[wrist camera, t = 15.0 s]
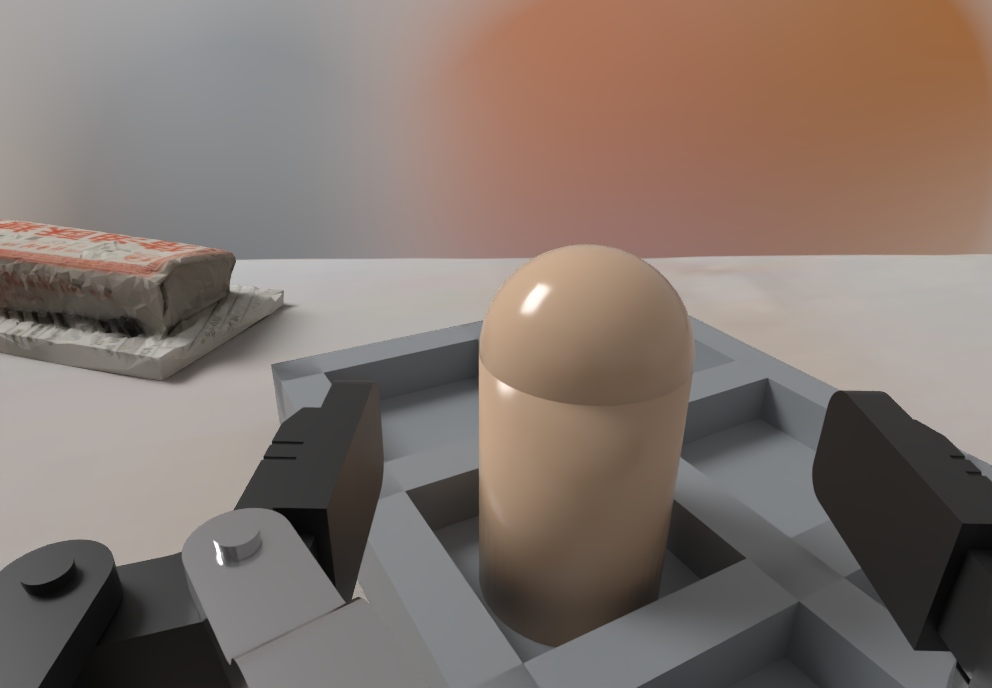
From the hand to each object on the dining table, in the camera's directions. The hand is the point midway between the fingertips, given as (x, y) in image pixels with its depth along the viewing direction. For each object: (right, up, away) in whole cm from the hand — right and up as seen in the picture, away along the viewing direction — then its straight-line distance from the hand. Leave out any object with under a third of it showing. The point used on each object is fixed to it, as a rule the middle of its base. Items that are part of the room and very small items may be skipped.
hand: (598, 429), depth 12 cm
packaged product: (-24, +2, +25) cm, 35 cm away
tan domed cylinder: (0, -5, +7) cm, 9 cm away
